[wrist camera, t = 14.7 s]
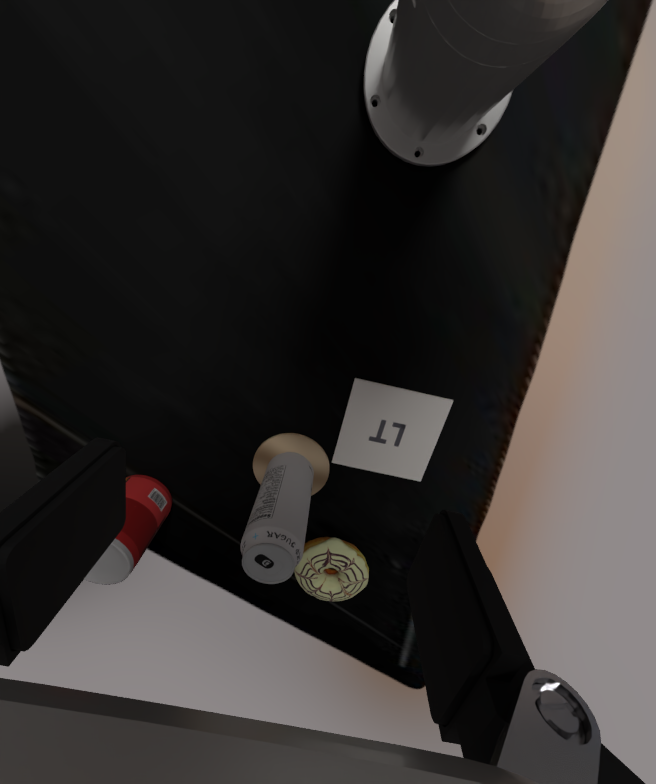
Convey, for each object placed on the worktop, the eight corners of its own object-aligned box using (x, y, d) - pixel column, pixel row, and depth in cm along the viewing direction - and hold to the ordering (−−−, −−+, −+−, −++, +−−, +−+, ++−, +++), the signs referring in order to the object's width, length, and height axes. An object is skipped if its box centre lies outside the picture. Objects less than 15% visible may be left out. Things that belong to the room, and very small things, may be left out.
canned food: (121, 465, 47) (61, 525, 37) (179, 484, 48) (136, 548, 38) (114, 506, 50) (56, 573, 40) (168, 523, 51) (125, 593, 41)
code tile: (354, 377, 41) (354, 378, 41) (452, 399, 42) (453, 401, 41) (331, 461, 46) (331, 462, 45) (420, 480, 46) (420, 481, 46)
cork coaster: (259, 425, 44) (258, 427, 43) (337, 442, 44) (337, 444, 44) (249, 488, 48) (248, 490, 47) (320, 502, 48) (320, 505, 48)
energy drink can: (293, 494, 47) (271, 597, 33) (259, 467, 46) (221, 564, 32) (324, 468, 45) (314, 566, 31) (289, 439, 44) (264, 529, 30)
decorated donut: (331, 519, 50) (331, 539, 46) (381, 560, 52) (384, 582, 49) (282, 556, 53) (278, 578, 49) (331, 593, 55) (331, 616, 52)
